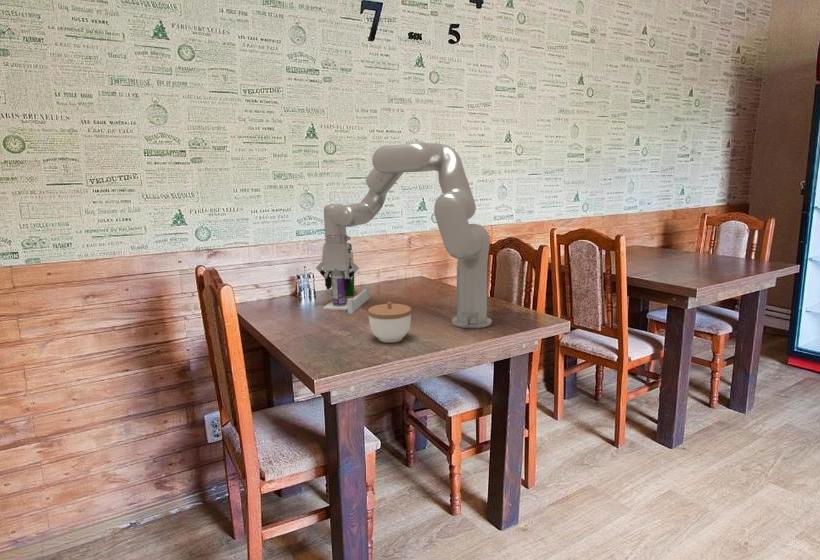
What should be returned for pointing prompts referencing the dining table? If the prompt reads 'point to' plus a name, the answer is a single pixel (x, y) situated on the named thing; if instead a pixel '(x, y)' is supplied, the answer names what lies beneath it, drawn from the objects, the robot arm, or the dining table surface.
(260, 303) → the dining table surface
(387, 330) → the lidded bowl
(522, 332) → the dining table surface
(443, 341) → the dining table surface
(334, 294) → the container
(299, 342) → the dining table surface
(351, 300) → the acrylic wall
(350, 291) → the milk carton
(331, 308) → the white pad
